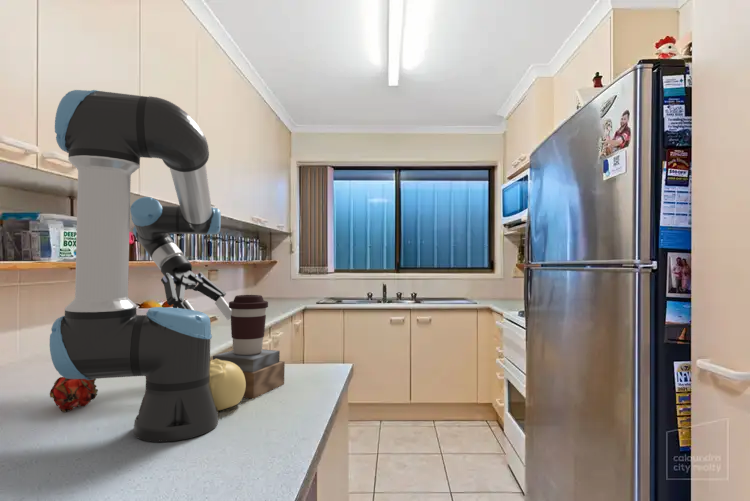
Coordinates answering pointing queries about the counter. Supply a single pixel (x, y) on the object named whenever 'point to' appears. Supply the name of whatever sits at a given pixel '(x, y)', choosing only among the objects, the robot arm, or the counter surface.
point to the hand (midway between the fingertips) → (215, 319)
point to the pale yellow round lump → (226, 383)
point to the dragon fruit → (73, 393)
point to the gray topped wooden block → (258, 370)
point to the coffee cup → (248, 324)
